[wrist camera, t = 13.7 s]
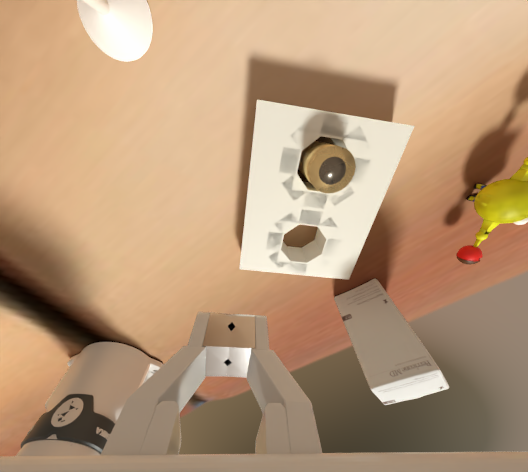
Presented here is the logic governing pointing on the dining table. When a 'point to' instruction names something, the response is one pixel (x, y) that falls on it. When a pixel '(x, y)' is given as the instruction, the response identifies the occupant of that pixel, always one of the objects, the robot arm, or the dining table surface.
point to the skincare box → (387, 346)
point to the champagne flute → (118, 26)
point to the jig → (314, 189)
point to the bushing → (327, 166)
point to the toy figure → (498, 208)
